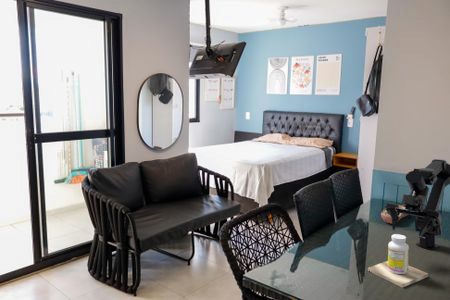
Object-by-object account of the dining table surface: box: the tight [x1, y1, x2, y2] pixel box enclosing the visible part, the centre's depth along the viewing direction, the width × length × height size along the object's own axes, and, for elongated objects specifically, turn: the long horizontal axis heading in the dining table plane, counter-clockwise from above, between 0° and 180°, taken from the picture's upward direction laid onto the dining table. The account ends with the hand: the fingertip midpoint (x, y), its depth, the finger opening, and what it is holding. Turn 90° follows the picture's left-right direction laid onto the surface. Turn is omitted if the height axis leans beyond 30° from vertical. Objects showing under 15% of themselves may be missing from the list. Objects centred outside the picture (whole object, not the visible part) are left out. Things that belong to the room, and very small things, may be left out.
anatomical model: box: [380, 204, 408, 225], centre depth 186 cm, size 23×10×5 cm, turn 135°
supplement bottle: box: [387, 233, 410, 274], centre depth 128 cm, size 7×7×13 cm
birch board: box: [367, 260, 429, 289], centre depth 129 cm, size 14×14×1 cm
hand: (406, 232), depth 132 cm, fingers open, 9 cm apart
